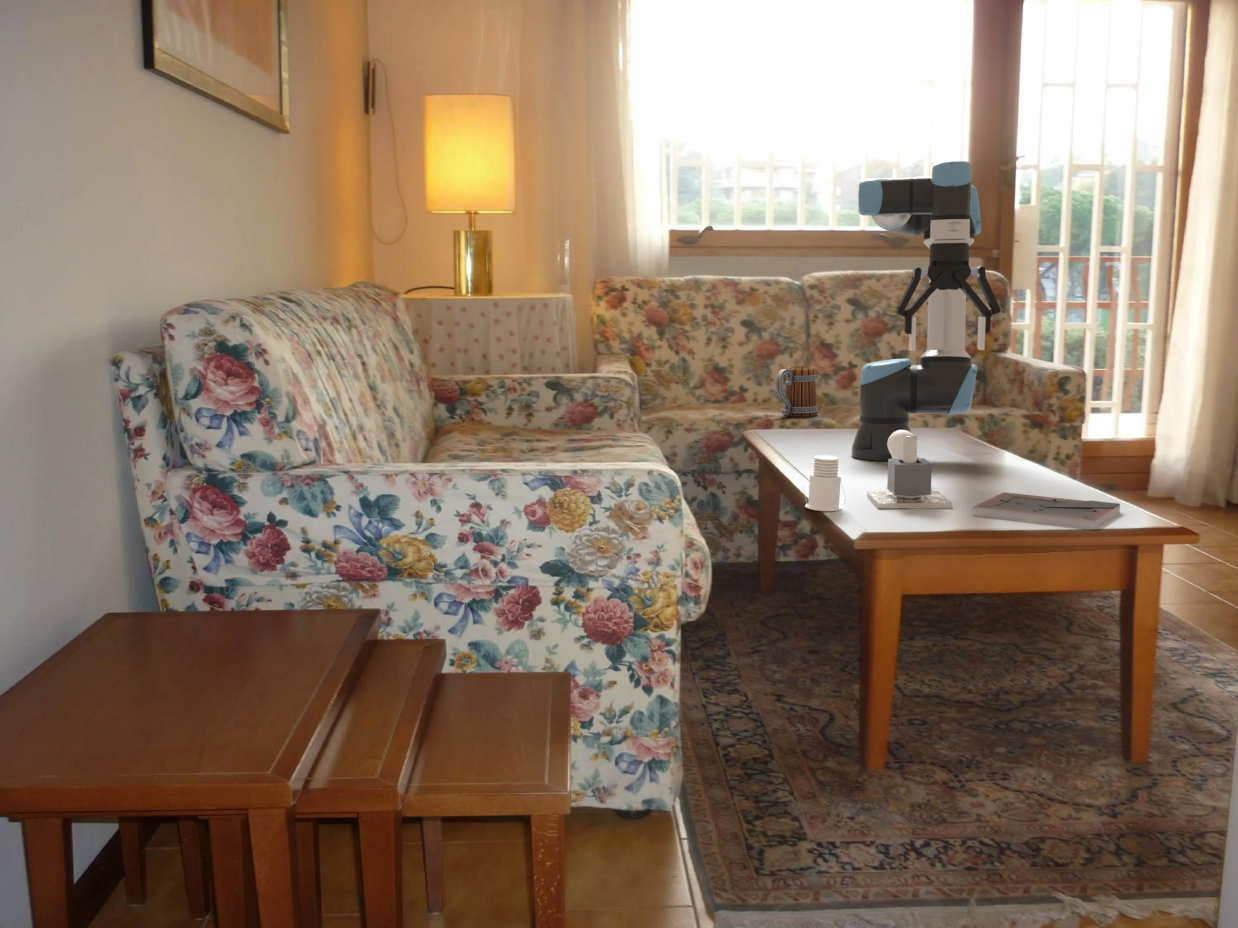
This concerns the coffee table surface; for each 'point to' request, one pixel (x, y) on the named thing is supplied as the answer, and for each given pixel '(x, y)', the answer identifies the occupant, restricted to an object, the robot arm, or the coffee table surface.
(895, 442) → the lightbulb
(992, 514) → the picture frame
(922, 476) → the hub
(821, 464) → the downlight
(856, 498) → the coffee table surface
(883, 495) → the shaft
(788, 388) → the mug
